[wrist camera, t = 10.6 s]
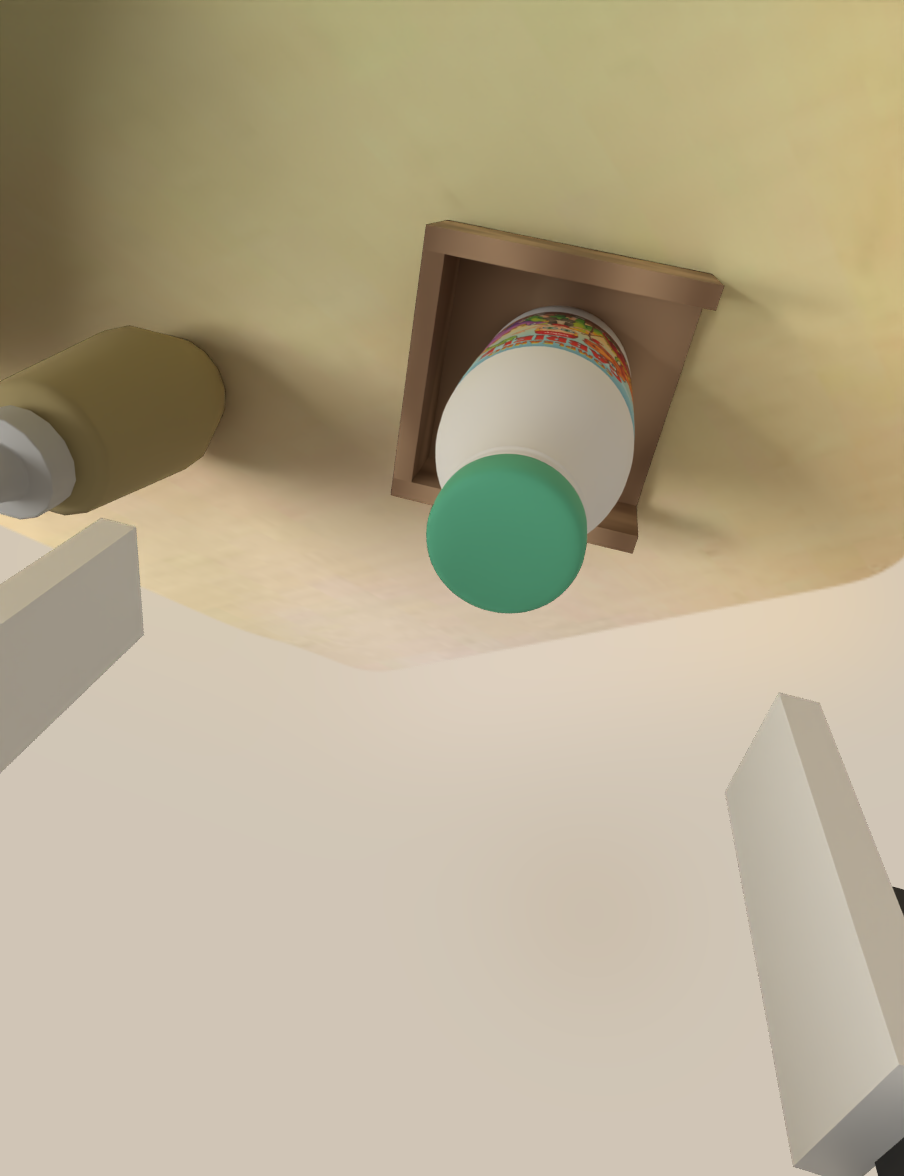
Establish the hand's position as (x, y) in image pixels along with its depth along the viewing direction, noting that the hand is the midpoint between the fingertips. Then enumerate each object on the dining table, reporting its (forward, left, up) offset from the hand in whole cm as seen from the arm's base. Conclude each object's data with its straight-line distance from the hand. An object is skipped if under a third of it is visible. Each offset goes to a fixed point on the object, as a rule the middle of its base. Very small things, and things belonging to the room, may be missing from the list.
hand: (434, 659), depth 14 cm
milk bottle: (+1, -1, -26) cm, 26 cm away
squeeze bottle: (-21, -6, -27) cm, 35 cm away
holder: (0, -1, -27) cm, 27 cm away
